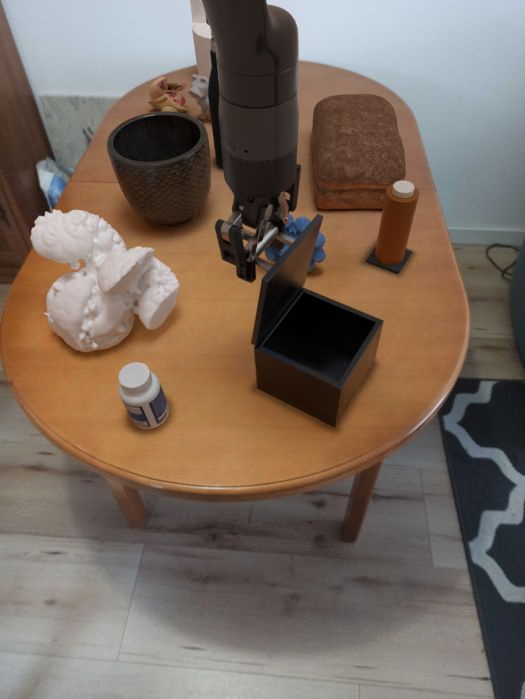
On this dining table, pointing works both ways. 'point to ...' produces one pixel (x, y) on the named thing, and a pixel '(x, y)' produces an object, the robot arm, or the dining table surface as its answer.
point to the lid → (282, 274)
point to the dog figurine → (200, 93)
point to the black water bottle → (214, 102)
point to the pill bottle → (142, 396)
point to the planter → (162, 166)
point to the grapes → (293, 232)
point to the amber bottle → (396, 222)
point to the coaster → (393, 268)
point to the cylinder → (201, 38)
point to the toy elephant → (166, 95)
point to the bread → (355, 151)
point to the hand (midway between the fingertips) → (261, 261)
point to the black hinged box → (317, 355)
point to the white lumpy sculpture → (100, 281)
